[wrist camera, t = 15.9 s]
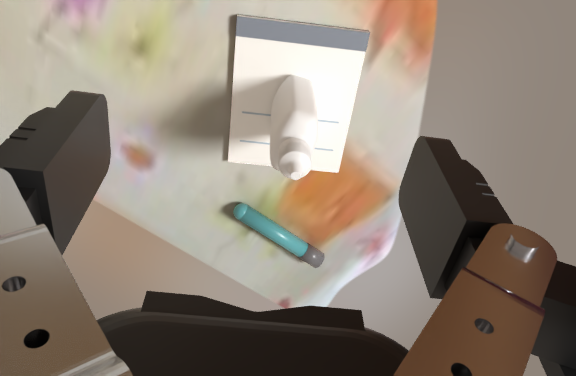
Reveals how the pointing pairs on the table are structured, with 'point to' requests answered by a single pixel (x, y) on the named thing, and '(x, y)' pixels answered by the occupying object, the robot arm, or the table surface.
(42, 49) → the table surface
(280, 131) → the white tapered bottle shape
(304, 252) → the marker
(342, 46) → the notepad
